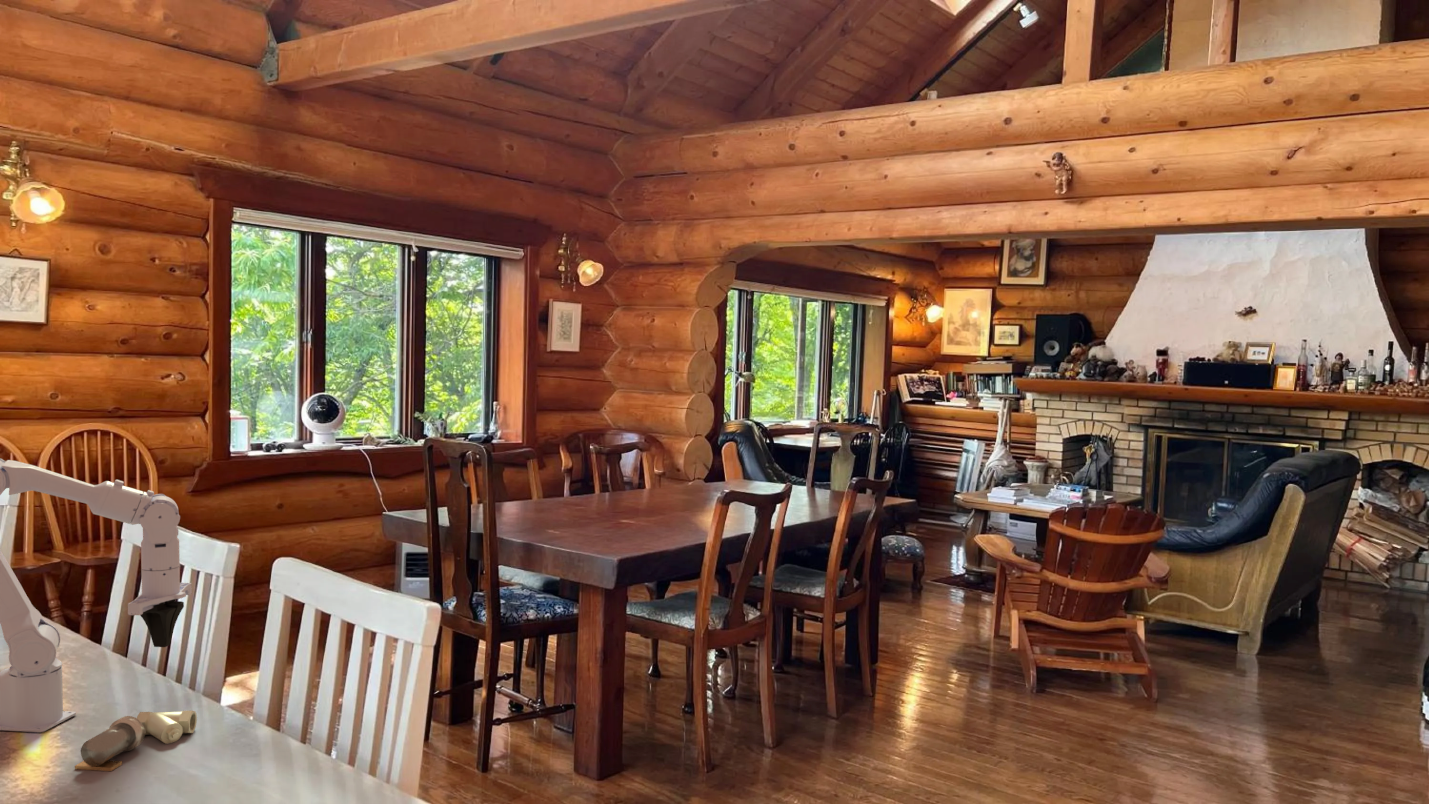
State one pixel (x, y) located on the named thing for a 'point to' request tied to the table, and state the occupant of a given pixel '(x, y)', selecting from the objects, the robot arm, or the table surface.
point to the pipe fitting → (168, 724)
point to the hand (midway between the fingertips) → (161, 645)
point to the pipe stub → (111, 744)
